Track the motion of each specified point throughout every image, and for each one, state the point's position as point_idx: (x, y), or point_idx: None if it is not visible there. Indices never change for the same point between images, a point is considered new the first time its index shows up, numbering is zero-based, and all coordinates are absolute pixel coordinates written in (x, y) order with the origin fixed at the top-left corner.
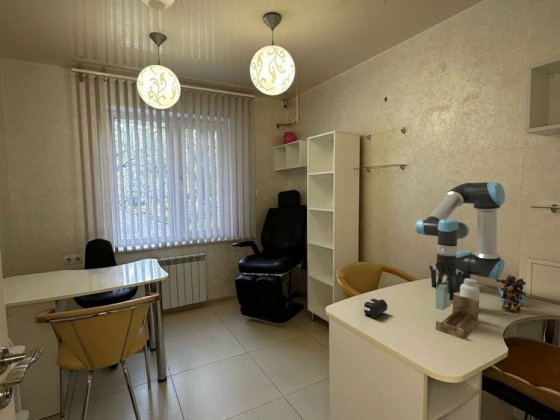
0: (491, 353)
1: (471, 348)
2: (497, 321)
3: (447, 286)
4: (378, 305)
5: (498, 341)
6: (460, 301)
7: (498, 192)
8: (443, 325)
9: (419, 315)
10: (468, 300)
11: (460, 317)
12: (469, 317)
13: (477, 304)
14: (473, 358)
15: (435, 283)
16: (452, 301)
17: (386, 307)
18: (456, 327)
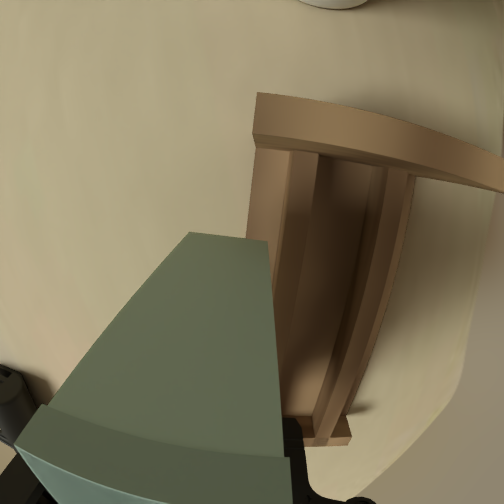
0: (415, 430)
1: (363, 446)
2: (476, 81)
3: None
4: None
5: (463, 337)
6: (340, 152)
7: None
8: None
9: (103, 307)
10: (434, 169)
11: (320, 193)
12: (390, 255)
13: (487, 189)
14: (361, 476)
15: (34, 490)
16: (267, 250)
17: (22, 405)
18: (320, 441)
